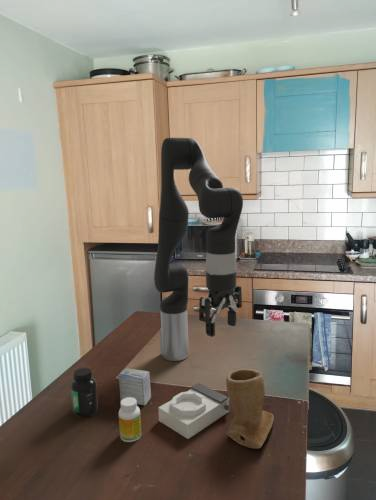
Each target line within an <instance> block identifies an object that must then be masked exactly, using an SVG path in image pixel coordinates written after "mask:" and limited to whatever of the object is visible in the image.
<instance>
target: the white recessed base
mask: <svg viewBox="0 0 376 500" xmlns="http://www.w3.org/2000/svg"><path fill="white" fill-rule="evenodd" d="M157 409H158V421H159V422H160V423H162V424H163V425H164V426H166V427H168V428H170V429H171V430H173V431H174V432H176V433H177V434H178V435H181V436H182V437H184V438H186V439H187V440H189V439H190V438H193V436H195V435H197V434H199V432H201V431H203V430H204V429H205V428H207V427H208V426H210V425H211V424H213V423H214V422H216V421H218V420H219V419H221V418H222V417H223V416H225V415H226V414H228V413H229V412H230V409H231V405H230V399H229V396H228V395H227V396H226V395H225V394H223V393H220V392H219V391H216V390H214V389H212V388H210V387H208V386H206V385H204V384H202V383H200V382H197V383H196V384H194V385H192V386H191V389H188V390H187V391H182V392H180V393H178V394H175V395H174V396H173V397H172V399H171V400H170V401H167V402H166V403H164V404H161V405H160V406H158V408H157Z"/></svg>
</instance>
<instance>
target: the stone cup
mask: <svg viewBox="0 0 376 500" xmlns="http://www.w3.org/2000/svg"><path fill="white" fill-rule="evenodd" d="M225 385H226V393H227V397H228V398H229V402H230V404H231V406H232V407H231V408H232V409H233V413H234V417H233V419H232V421H231V423H230V424H229V427H228V430H226V435H227V436H228V437H229V438H231V439H232V440H233V441H234V442H236V443H237V444H239V445H241V446H244V447H246V448H249V449H255V450H257V449H260V448H262V446H263V444H264V443H265V441H266V439H267V438H268V435H269V433H270V432H271V429H272V427H273V424H274V420H275V419H274V418H275V417H274V414H273V413H271V412H269V411H266V410H263V407H264V406H263V405H264V400H265V394H266V393H265V392H266V391H265V381H264V377H263V375H262V373H261V372H260V371H259V370H256V369H253V368H239V369H235V370H233V371H231V372H229V373H228V374H227V376H226V383H225Z"/></svg>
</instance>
